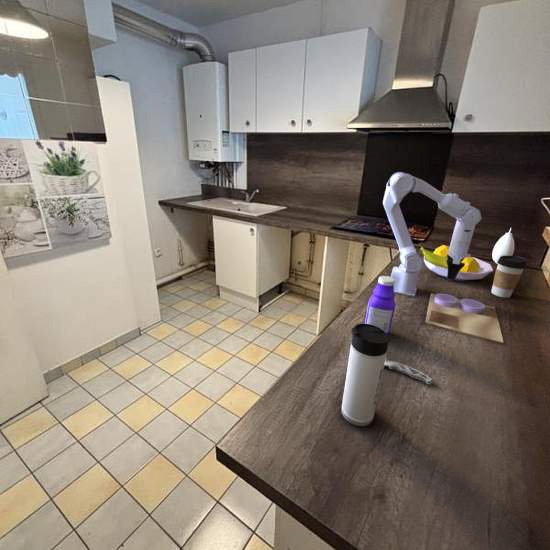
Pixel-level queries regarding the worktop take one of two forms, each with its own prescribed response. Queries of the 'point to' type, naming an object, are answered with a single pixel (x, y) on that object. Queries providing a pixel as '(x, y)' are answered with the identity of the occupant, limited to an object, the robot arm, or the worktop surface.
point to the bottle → (382, 304)
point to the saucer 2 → (472, 306)
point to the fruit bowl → (472, 265)
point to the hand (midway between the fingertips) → (450, 276)
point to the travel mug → (364, 373)
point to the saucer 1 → (446, 300)
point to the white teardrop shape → (503, 247)
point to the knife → (408, 371)
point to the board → (465, 320)
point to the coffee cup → (507, 275)
